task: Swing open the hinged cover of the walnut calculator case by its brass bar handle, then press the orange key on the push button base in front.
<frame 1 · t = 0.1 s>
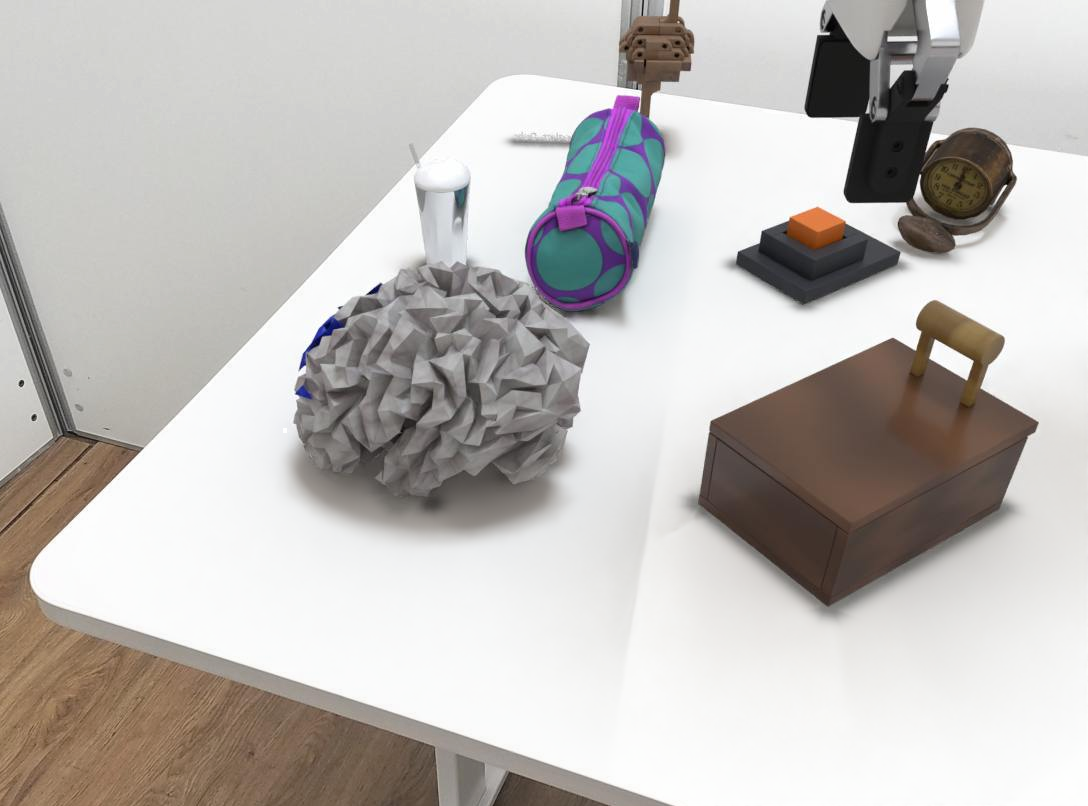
hand: (854, 155, 57), 23 cm above the table, tool pointing down, fingers open, 9 cm apart
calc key: (815, 229, 93), point 3 cm above the table, slide at 0.1 cm
educational model: (441, 460, 78), on the table
milkshake: (442, 269, 96), on the table
push button base: (816, 264, 95), on the table
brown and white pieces: (598, 144, 113), on the table
case lid: (882, 392, 67), point 9 cm above the table, hinge at 0.0°
pencil case: (597, 257, 97), on the table
vintage brass clock: (937, 225, 100), on the table
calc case: (847, 506, 74), on the table
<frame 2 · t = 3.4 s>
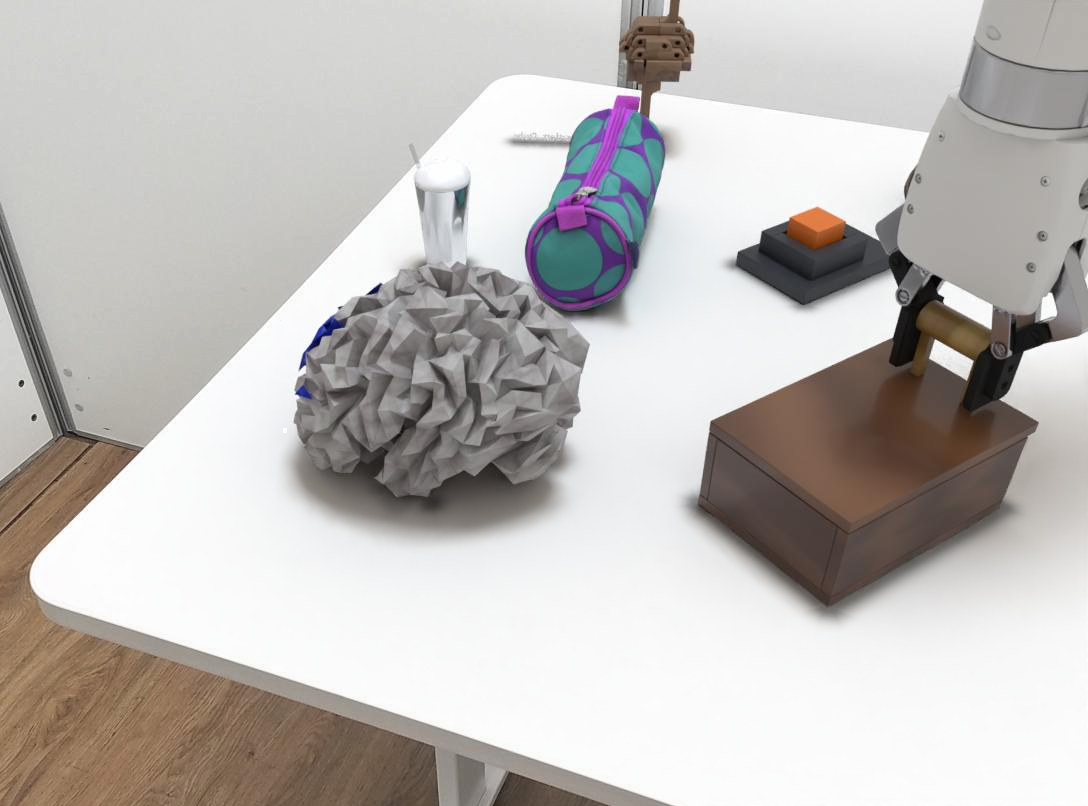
hand: (945, 377, 71), 7 cm above the table, tool pointing down, fingers closed on case lid, 5 cm apart
case lid: (882, 392, 67), point 9 cm above the table, hinge at 0.0°, touching gripper
everything else where it was.
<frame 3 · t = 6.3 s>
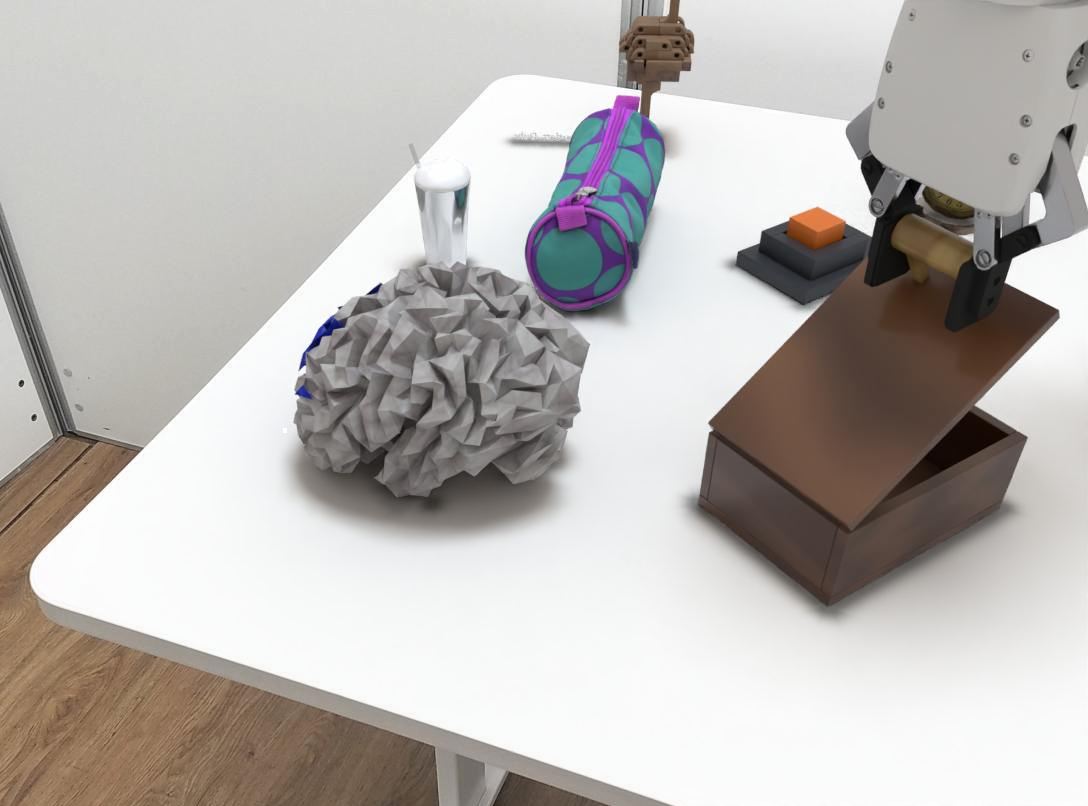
hand: (925, 296, 64), 15 cm above the table, tool pointing down, fingers closed on case lid, 5 cm apart
case lid: (865, 349, 64), point 13 cm above the table, hinge at 32.7°, touching gripper
everything else where it was.
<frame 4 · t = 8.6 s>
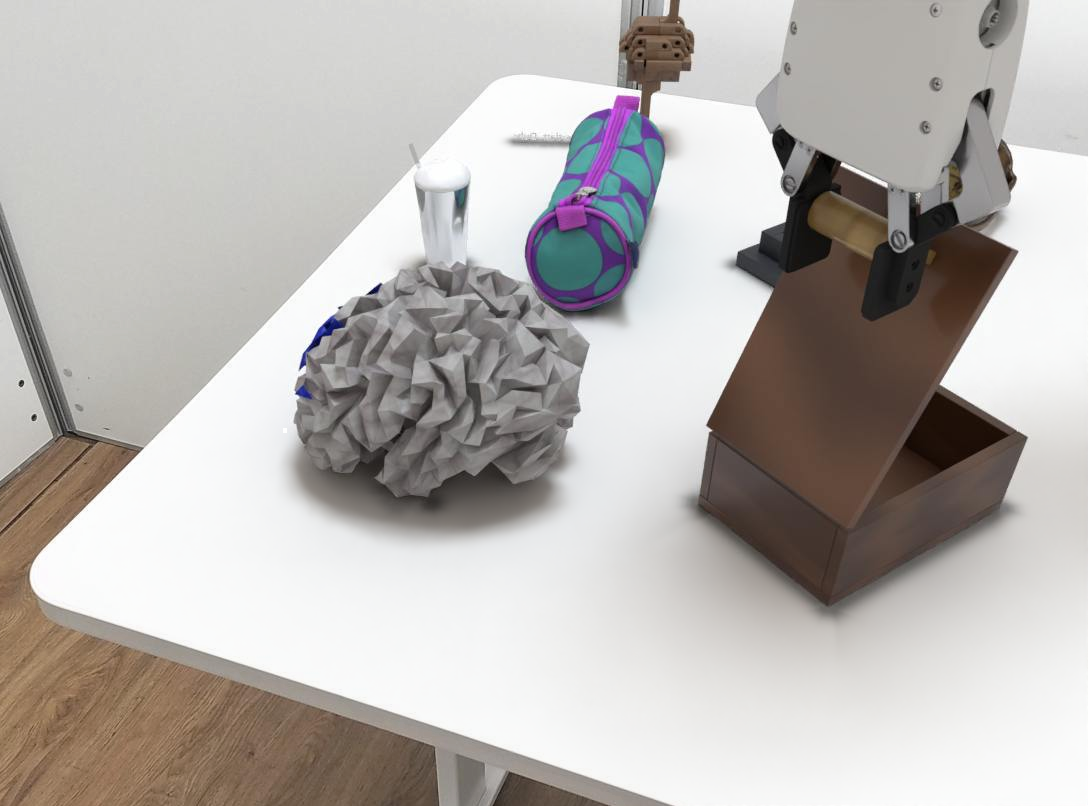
hand: (844, 283, 59), 18 cm above the table, tool pointing down, fingers closed on case lid, 5 cm apart
case lid: (819, 343, 61), point 15 cm above the table, hinge at 63.9°, touching gripper
everything else where it was.
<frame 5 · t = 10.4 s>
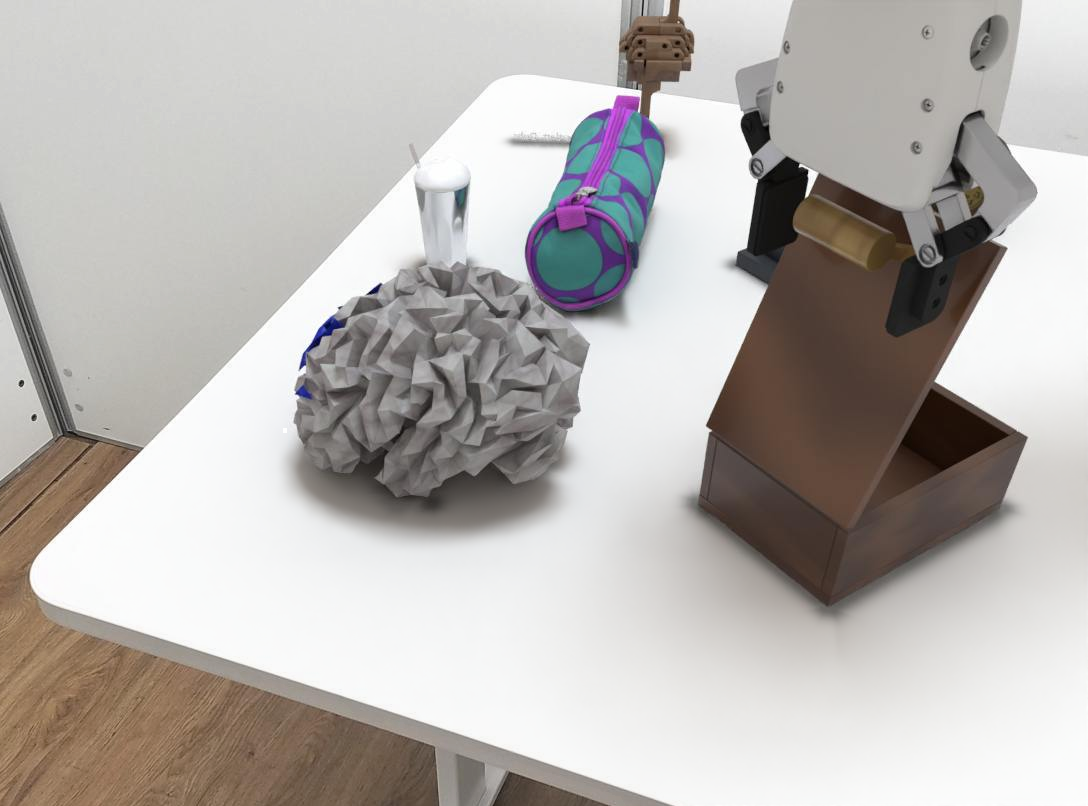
hand: (837, 285, 58), 18 cm above the table, tool pointing down, fingers open, 9 cm apart
case lid: (811, 346, 60), point 15 cm above the table, hinge at 68.0°
everything else where it was.
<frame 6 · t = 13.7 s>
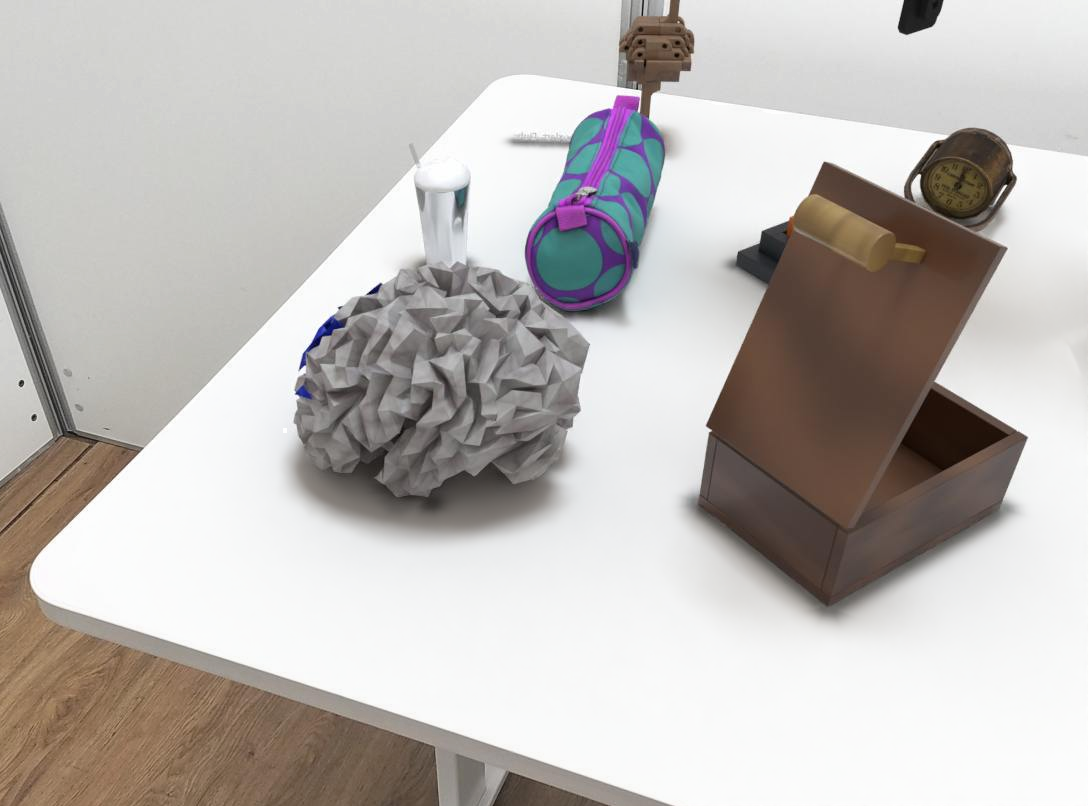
hand: (860, 9, 78), 21 cm above the table, tool pointing down, fingers open, 9 cm apart
nothing on the table moved.
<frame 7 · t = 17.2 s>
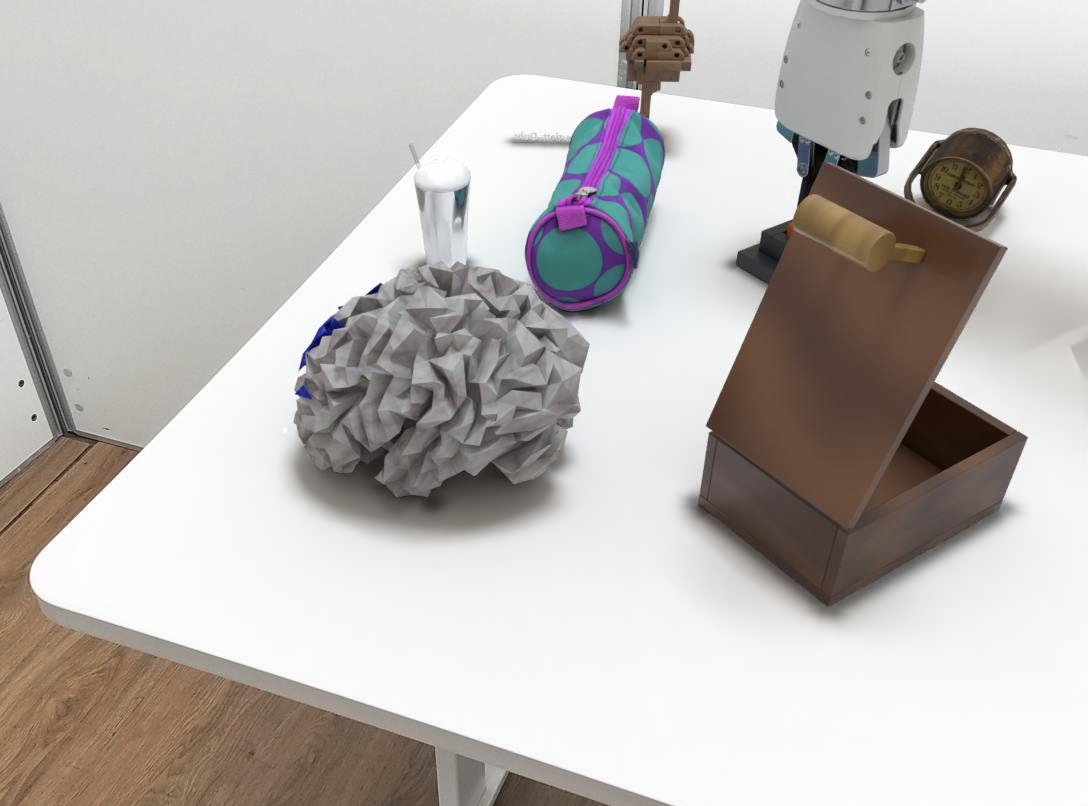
hand: (814, 224, 92), 4 cm above the table, tool pointing down, fingers closed
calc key: (814, 235, 93), point 3 cm above the table, slide at -0.4 cm, touching gripper
everything else where it was.
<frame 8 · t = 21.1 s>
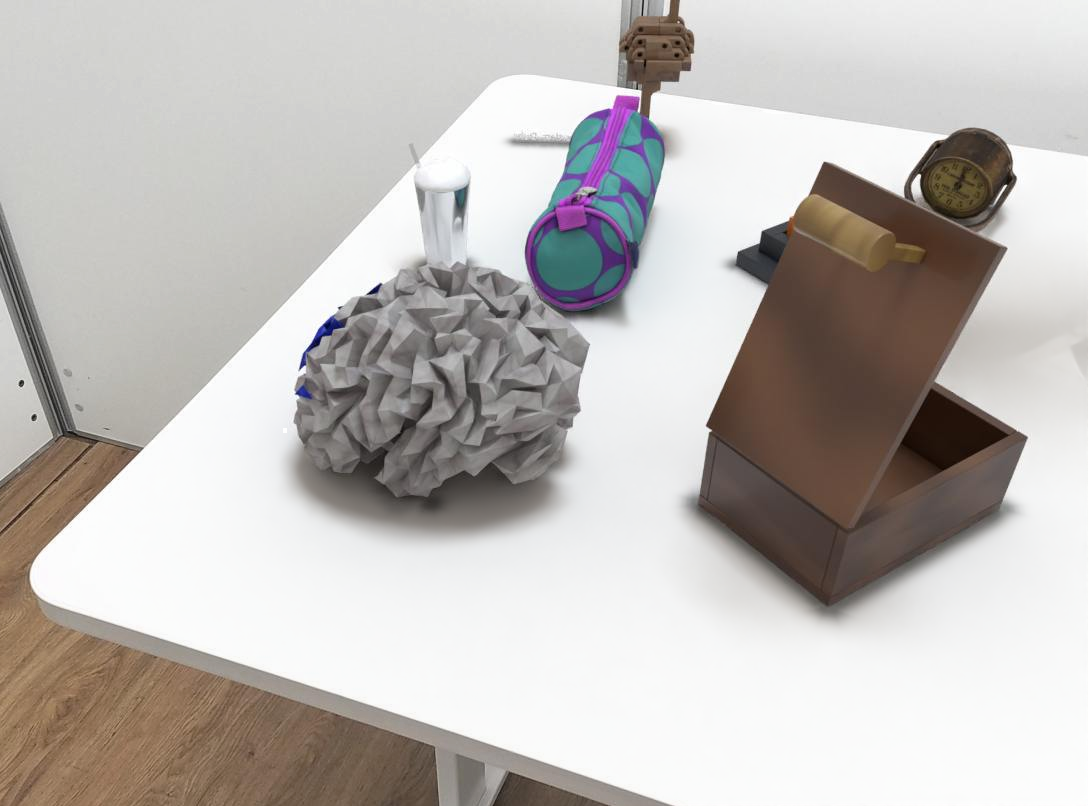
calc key: (815, 229, 93), point 3 cm above the table, slide at 0.1 cm
everything else where it was.
at the end: case lid at +68° (first picture: +0°); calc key pushed in 1.1 cm at the most during the clip, back to where it started at the end; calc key slide at 0.1 cm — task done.
